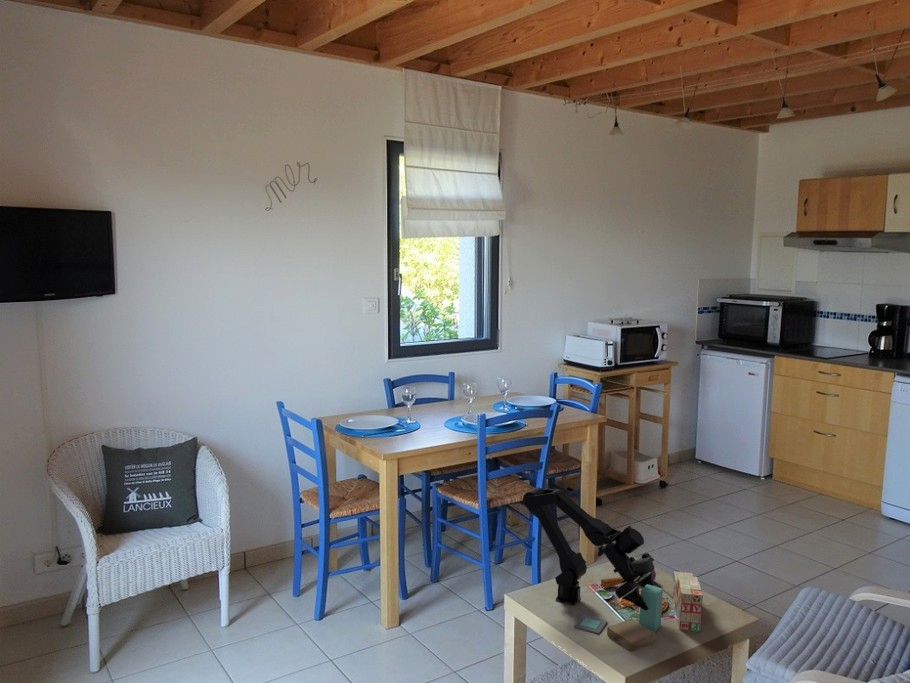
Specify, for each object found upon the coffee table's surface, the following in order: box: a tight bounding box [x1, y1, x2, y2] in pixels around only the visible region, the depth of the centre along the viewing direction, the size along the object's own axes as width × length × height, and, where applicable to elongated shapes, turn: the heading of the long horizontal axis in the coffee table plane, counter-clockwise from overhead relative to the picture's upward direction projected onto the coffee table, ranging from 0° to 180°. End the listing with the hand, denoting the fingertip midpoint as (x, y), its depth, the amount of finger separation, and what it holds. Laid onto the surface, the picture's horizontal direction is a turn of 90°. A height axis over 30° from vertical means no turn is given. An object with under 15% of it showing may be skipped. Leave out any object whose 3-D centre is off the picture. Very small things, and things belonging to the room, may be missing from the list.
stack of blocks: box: [672, 571, 704, 633], centre depth 230 cm, size 21×6×12 cm, turn 169°
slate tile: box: [573, 614, 608, 635], centre depth 224 cm, size 8×8×1 cm
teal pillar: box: [638, 584, 664, 633], centre depth 223 cm, size 5×5×12 cm
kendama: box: [600, 569, 657, 590], centre depth 251 cm, size 6×6×20 cm
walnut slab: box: [606, 618, 657, 652], centre depth 216 cm, size 10×10×3 cm
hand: (652, 603), depth 222 cm, fingers open, 9 cm apart
